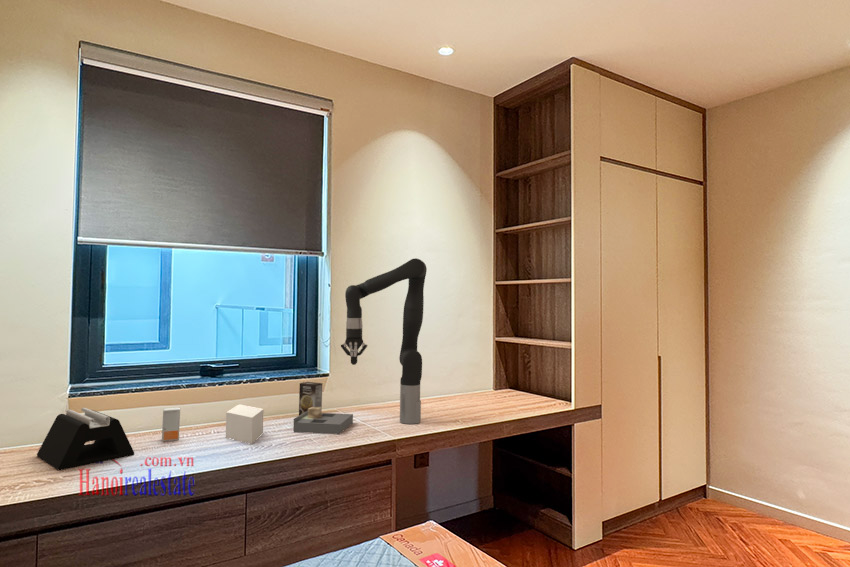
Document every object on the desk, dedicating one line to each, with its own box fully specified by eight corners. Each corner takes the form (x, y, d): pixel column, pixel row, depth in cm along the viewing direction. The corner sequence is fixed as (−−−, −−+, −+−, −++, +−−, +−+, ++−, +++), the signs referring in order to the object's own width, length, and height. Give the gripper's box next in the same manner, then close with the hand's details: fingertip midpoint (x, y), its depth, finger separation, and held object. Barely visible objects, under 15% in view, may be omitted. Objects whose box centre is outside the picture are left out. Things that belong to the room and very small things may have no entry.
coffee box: (298, 417, 240) (298, 383, 240) (306, 414, 246) (306, 381, 246) (314, 419, 236) (315, 384, 237) (322, 416, 242) (322, 382, 243)
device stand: (58, 471, 161) (60, 423, 161) (36, 457, 175) (38, 413, 176) (134, 455, 178) (135, 412, 179) (109, 444, 192) (110, 404, 193)
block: (321, 416, 225) (321, 407, 225) (317, 418, 220) (317, 409, 220) (311, 416, 225) (311, 406, 226) (307, 418, 221) (307, 408, 221)
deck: (352, 423, 230) (353, 410, 230) (339, 434, 210) (339, 420, 210) (310, 421, 233) (310, 409, 233) (293, 431, 213) (293, 418, 213)
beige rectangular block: (231, 447, 190) (232, 419, 190) (220, 430, 215) (221, 405, 216) (270, 442, 197) (271, 415, 198) (255, 426, 222) (256, 402, 223)
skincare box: (161, 441, 195) (162, 410, 196) (161, 439, 199) (162, 408, 200) (179, 440, 198) (180, 409, 199) (179, 437, 202) (180, 407, 202)
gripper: (338, 327, 237) (338, 365, 236) (366, 328, 235) (366, 365, 235) (342, 327, 244) (342, 363, 244) (369, 327, 243) (369, 363, 242)
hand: (354, 364), depth 239 cm, fingers closed
